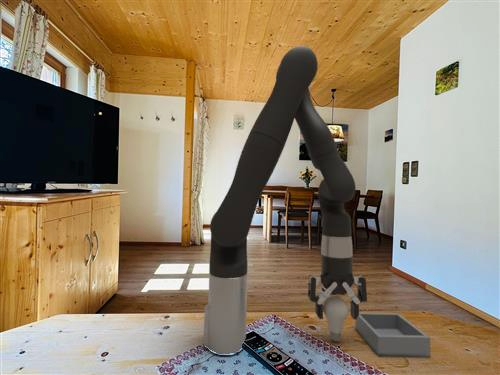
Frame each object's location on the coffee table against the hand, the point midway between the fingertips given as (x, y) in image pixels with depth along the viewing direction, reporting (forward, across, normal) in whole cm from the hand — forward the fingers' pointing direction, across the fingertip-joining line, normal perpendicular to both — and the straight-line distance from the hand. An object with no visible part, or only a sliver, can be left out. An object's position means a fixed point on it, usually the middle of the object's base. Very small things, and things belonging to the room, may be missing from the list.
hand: (337, 317), depth 63 cm
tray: (+6, +13, 0) cm, 14 cm away
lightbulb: (+6, 0, 0) cm, 6 cm away
